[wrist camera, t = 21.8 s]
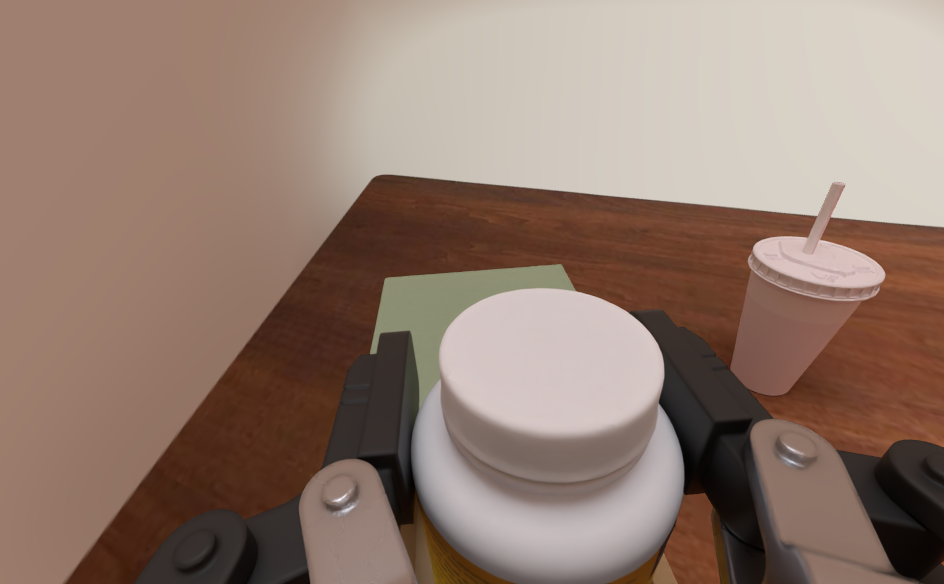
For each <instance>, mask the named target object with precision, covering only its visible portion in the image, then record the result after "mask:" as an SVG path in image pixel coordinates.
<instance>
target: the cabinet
mask: <svg viewBox="0 0 944 584" xmlns="http://www.w3.org/2000/svg"><path fill="white" fill-rule="evenodd" d="M534 288H550V289H562V290H569V291H575V292H576V290H575V289H574V287H573V285H572V283H571V281H570V280H569V278H568V276H567V274H566V272H565V270H564V269H563V267H562V265H547V266H534V267H521V268H508V269H495V270H482V271H469V272H456V273H443V274H430V275H417V276H404V277H391V278H385V282H384V287H383V292H382V297H381V302H380V307H379V312H378V317H377V322H376V327H375V332H374V337H373V342H372V347H371V352H370V354H376V352H377V347H378V341H379V336H380V334H381V333H385V332H397V331H409V330H410V331H411V335H412V340H413V346H414V353H415V359H416V365H417V371H418V378H419V410H420V407H421V405H422V403H423V401H424V400H425V398H426V397H427V395H428V393H429V392H430V391H431V389H432V388H433V387H434V385H435V384H436V383H437V382H438V381H439V380H440V370H439V348H440V345H441V341H442V338H443V336H444V334H445V332H446V330H447V328H448V327H449V326H450V324H451V323H452V322H453V321H454V320H455V318H456V317H458V316H459V315H460V314H461V313H462V312H463V311H464V310H466V309H467V308H469V307H470V306H472V305H474V304H475V303H477V302H479V301H481V300H483V299H486V298H488V297H491V296H493V295H497V294H500V293H504V292H509V291H514V290H520V289H534Z"/></svg>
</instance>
